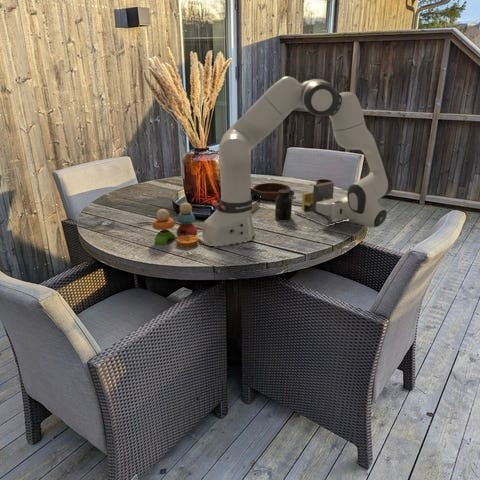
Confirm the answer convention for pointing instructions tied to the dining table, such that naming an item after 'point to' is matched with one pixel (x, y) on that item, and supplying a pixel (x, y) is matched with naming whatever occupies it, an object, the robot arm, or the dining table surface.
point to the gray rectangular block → (321, 194)
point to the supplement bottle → (283, 205)
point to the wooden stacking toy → (186, 225)
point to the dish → (271, 190)
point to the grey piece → (308, 201)
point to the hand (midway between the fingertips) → (325, 199)
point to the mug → (322, 181)
